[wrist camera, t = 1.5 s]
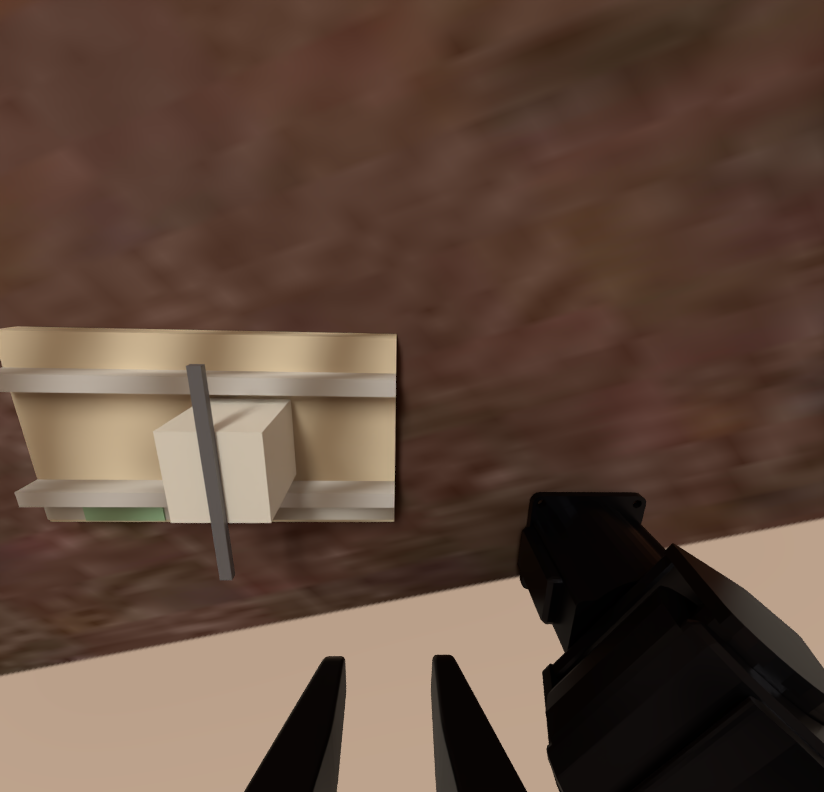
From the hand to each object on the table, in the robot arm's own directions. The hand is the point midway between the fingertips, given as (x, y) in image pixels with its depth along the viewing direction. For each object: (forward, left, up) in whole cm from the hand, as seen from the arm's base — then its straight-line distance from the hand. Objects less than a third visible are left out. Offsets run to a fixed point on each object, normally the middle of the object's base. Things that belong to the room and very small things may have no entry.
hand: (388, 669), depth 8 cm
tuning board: (+9, 0, -13) cm, 16 cm away
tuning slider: (+7, 0, -12) cm, 14 cm away
